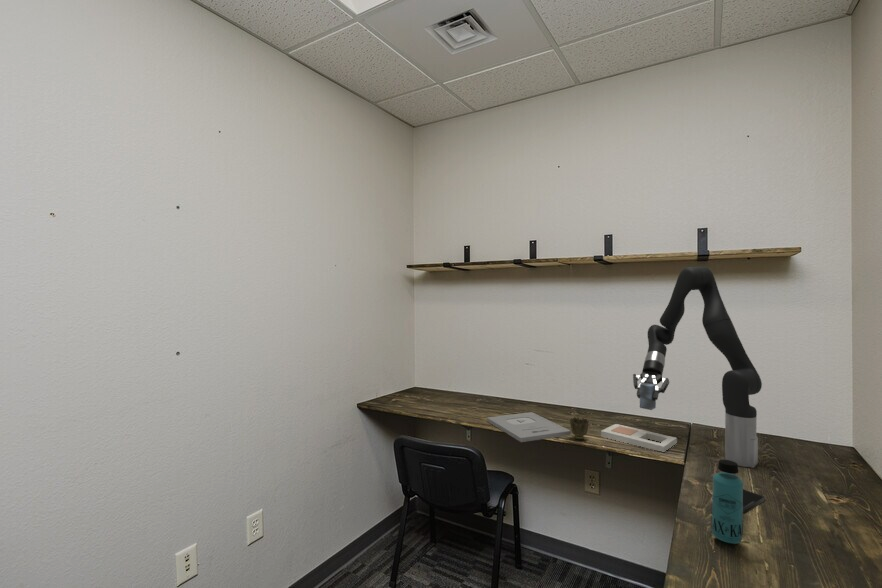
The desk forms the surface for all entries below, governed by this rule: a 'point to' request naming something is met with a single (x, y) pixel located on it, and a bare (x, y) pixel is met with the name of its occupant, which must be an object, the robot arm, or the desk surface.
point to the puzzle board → (639, 437)
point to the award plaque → (528, 426)
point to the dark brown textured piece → (579, 427)
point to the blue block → (647, 396)
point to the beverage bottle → (727, 503)
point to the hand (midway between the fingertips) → (646, 398)
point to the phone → (751, 500)
